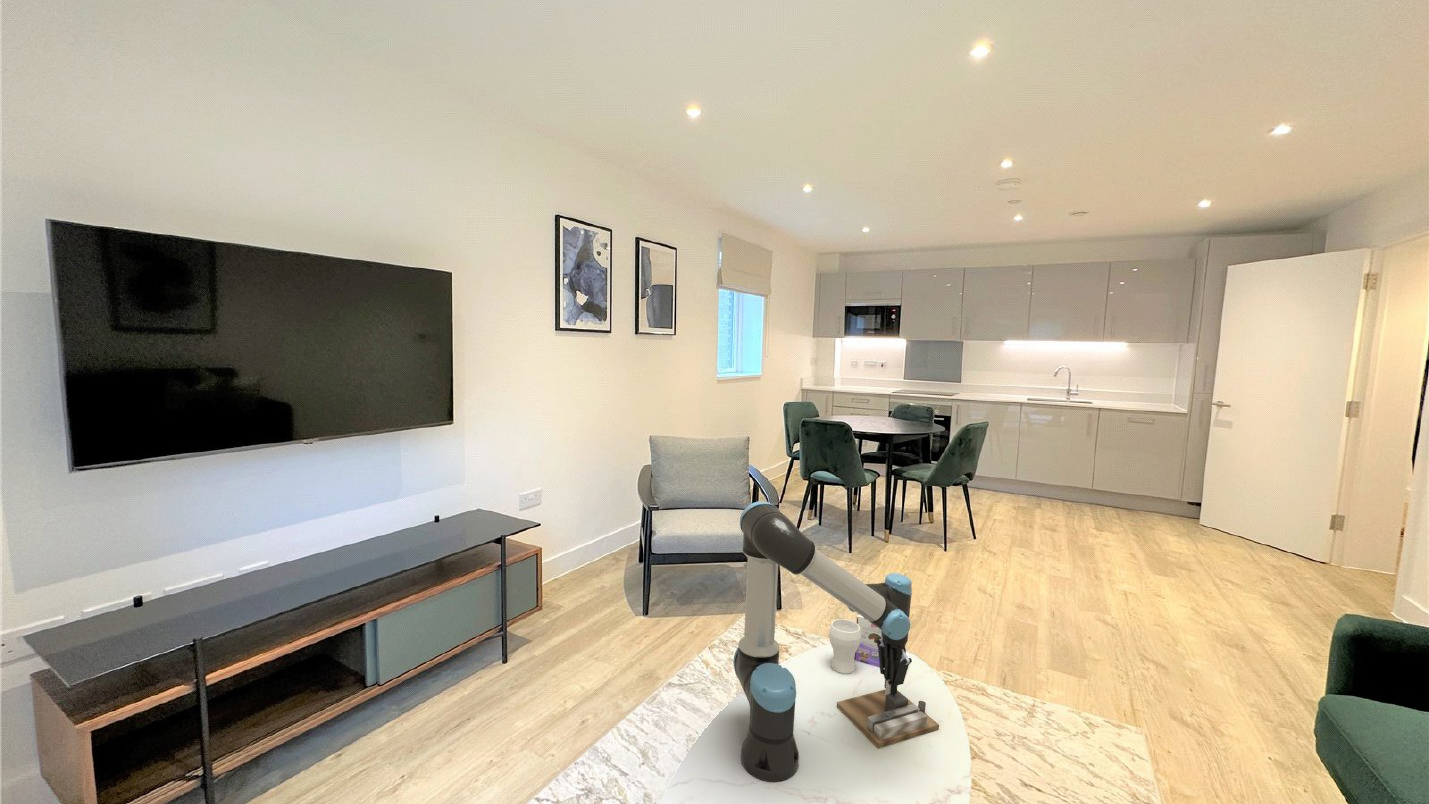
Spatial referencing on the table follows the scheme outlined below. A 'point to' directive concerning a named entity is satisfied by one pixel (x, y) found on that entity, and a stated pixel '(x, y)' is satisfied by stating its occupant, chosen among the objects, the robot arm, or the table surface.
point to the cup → (844, 644)
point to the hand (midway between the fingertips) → (889, 701)
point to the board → (874, 708)
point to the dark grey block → (895, 701)
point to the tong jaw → (890, 715)
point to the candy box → (868, 642)
